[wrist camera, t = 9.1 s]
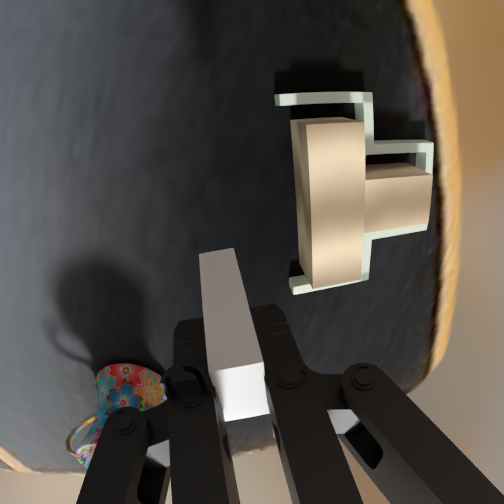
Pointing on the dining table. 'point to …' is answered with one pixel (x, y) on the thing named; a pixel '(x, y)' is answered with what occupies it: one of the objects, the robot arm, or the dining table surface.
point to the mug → (116, 401)
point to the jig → (365, 115)
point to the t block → (347, 197)
